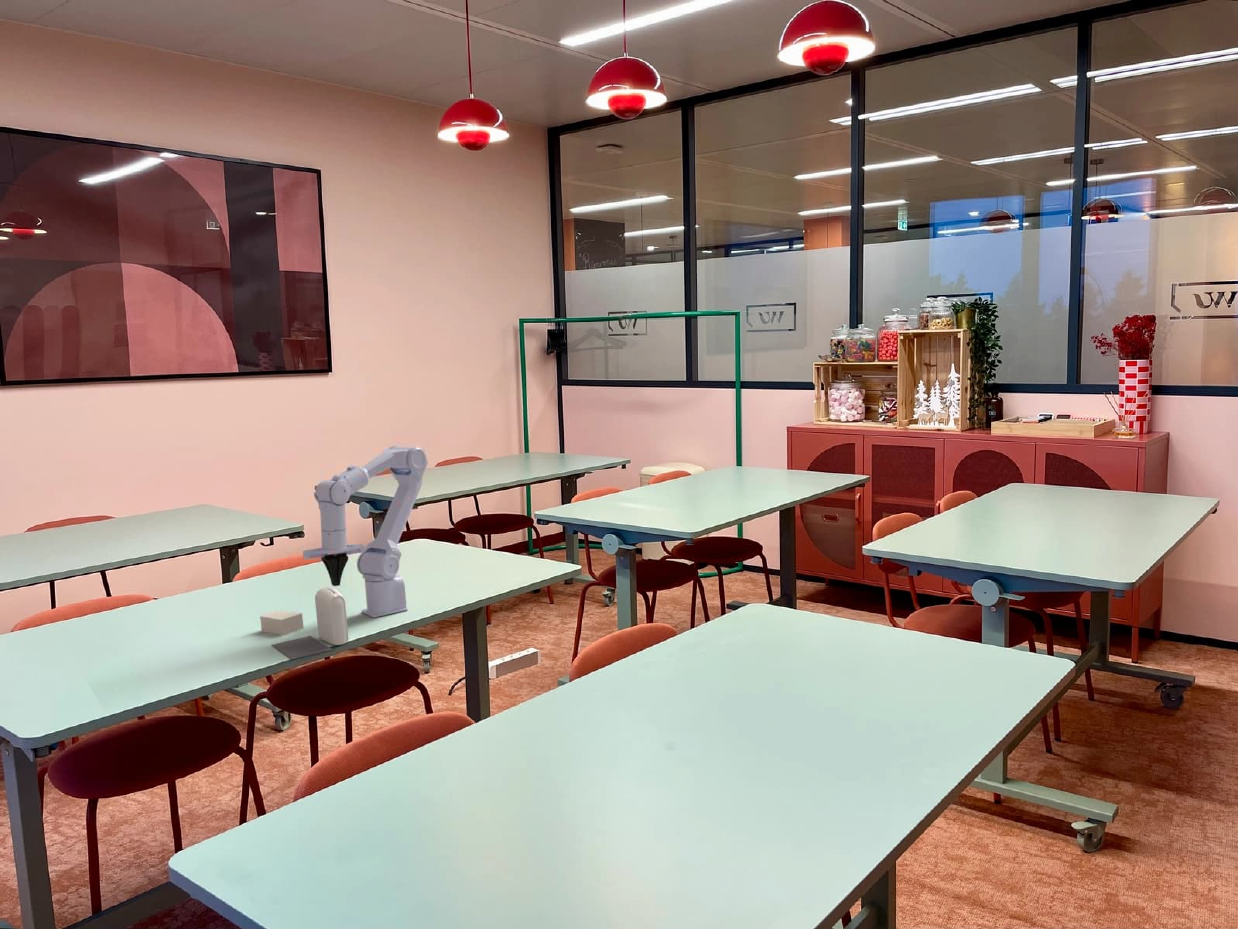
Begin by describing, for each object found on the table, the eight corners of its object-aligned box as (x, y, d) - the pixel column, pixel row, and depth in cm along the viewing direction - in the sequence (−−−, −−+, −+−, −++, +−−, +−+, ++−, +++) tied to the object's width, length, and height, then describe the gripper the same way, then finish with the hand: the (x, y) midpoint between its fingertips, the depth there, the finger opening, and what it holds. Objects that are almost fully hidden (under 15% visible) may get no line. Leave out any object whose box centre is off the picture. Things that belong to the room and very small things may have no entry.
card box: (282, 625, 229) (280, 609, 228) (303, 629, 225) (302, 613, 224) (261, 632, 224) (260, 616, 223) (283, 636, 220) (281, 620, 219)
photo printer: (316, 637, 216) (311, 586, 215) (333, 633, 219) (329, 583, 217) (333, 647, 208) (328, 594, 207) (351, 643, 211) (346, 590, 209)
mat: (310, 636, 217) (310, 635, 217) (331, 650, 206) (331, 649, 206) (271, 645, 212) (271, 644, 212) (291, 659, 201) (291, 659, 201)
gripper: (356, 525, 229) (358, 578, 230) (298, 531, 221) (300, 586, 222) (367, 528, 224) (369, 583, 225) (307, 534, 215) (309, 591, 216)
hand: (335, 585), depth 223 cm, fingers closed
